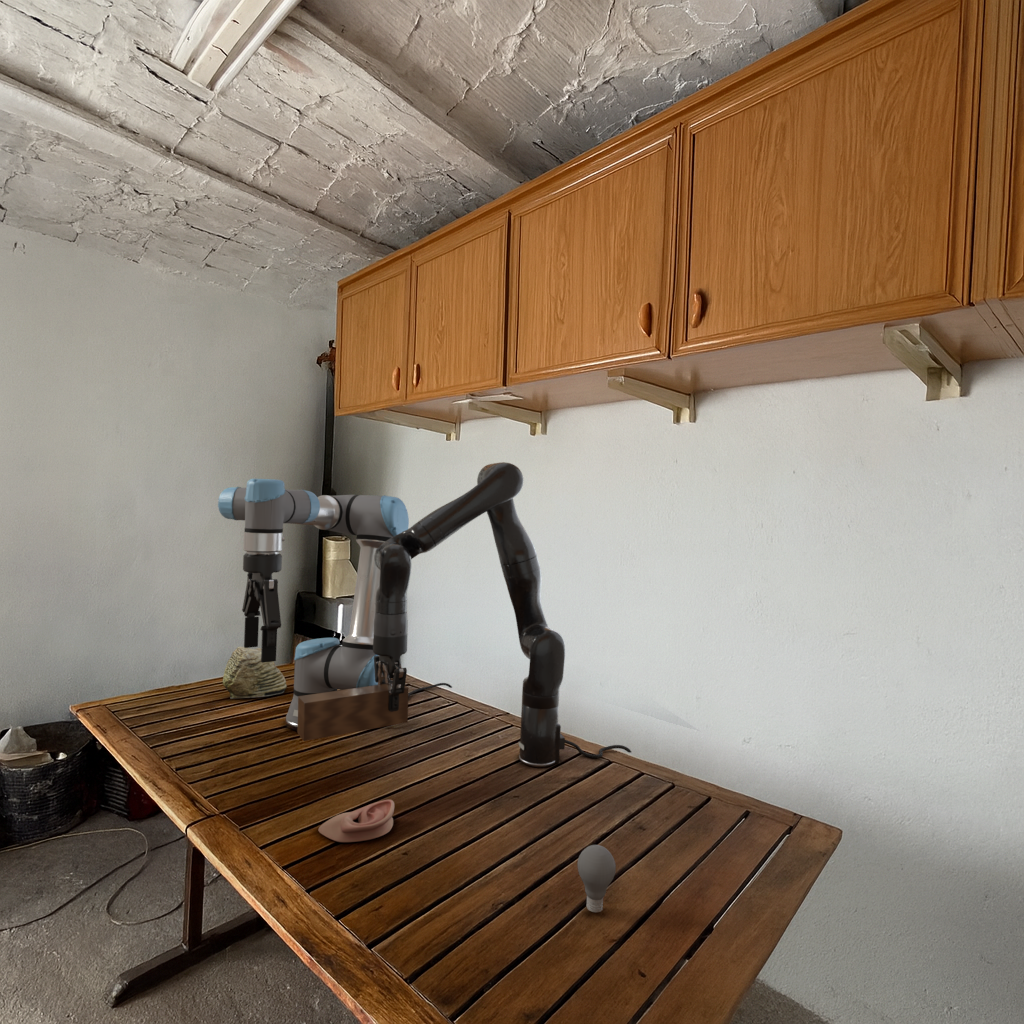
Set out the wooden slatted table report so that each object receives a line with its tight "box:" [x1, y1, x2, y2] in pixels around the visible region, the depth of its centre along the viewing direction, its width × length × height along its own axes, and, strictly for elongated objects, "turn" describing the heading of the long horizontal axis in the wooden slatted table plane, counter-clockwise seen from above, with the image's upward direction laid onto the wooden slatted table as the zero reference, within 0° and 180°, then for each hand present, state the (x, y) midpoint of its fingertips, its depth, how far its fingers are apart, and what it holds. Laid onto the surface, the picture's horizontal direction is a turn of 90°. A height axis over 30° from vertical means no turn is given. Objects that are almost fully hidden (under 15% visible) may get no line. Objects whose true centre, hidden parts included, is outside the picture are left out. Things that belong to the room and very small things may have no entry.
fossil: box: [222, 646, 288, 699], centre depth 198 cm, size 9×18×15 cm, turn 132°
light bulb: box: [577, 844, 617, 913], centre depth 100 cm, size 6×6×10 cm
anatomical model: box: [317, 799, 395, 843], centre depth 122 cm, size 13×4×12 cm
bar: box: [297, 684, 409, 742], centre depth 138 cm, size 23×5×8 cm, turn 123°
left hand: (259, 654), depth 132 cm, fingers open, 13 cm apart
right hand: (388, 706), depth 142 cm, fingers closed on bar, 5 cm apart
